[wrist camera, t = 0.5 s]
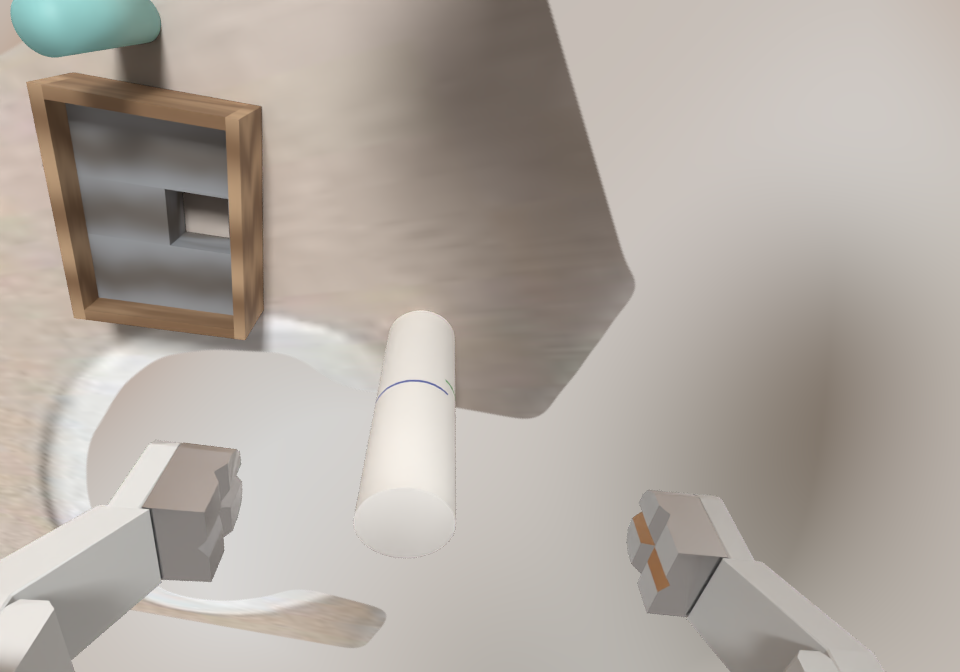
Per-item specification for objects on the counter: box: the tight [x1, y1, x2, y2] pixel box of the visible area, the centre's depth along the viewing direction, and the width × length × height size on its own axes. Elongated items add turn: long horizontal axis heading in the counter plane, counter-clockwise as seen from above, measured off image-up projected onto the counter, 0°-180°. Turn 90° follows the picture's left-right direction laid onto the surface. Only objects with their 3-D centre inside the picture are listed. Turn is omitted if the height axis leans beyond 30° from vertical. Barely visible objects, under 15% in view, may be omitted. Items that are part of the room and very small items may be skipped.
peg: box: [11, 0, 161, 57], centre depth 40 cm, size 4×4×12 cm
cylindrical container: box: [353, 310, 456, 558], centre depth 51 cm, size 7×7×25 cm
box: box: [26, 73, 264, 340], centre depth 50 cm, size 20×15×6 cm
